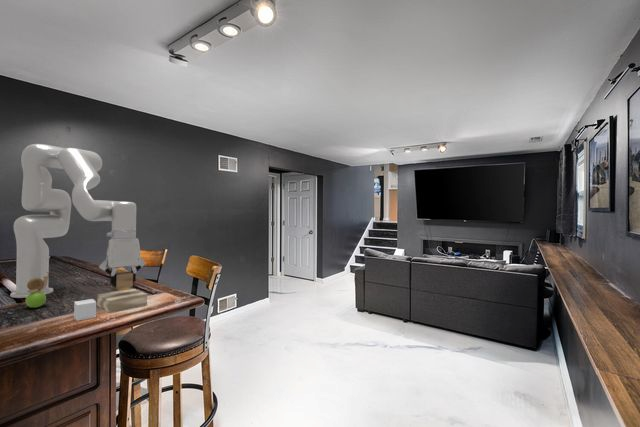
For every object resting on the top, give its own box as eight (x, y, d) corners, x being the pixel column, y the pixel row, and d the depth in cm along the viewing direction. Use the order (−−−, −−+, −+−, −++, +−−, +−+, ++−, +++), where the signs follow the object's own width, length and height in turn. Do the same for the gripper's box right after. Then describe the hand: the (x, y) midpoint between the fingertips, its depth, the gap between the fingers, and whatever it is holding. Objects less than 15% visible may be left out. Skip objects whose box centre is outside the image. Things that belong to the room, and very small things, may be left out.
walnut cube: (113, 286, 115) (113, 272, 114) (128, 284, 118) (129, 271, 118) (116, 289, 111) (117, 274, 111) (132, 286, 115) (133, 273, 115)
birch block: (97, 306, 114) (97, 294, 114) (133, 299, 123) (133, 288, 123) (109, 314, 106) (110, 300, 106) (146, 306, 116) (147, 294, 116)
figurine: (136, 292, 132) (137, 264, 132) (128, 296, 126) (129, 266, 126) (116, 292, 132) (117, 263, 132) (107, 296, 126) (108, 266, 125)
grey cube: (73, 317, 102) (74, 301, 102) (92, 313, 105) (93, 298, 105) (76, 321, 98) (77, 305, 98) (96, 317, 102) (96, 302, 102)
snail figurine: (53, 305, 112) (53, 272, 112) (31, 310, 106) (32, 275, 106) (43, 303, 114) (43, 270, 114) (21, 308, 108) (22, 273, 108)
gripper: (98, 237, 106) (97, 291, 106) (152, 235, 118) (151, 283, 118) (93, 235, 111) (92, 286, 111) (146, 233, 123) (145, 280, 123)
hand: (123, 284), depth 115 cm, fingers closed on walnut cube, 5 cm apart
